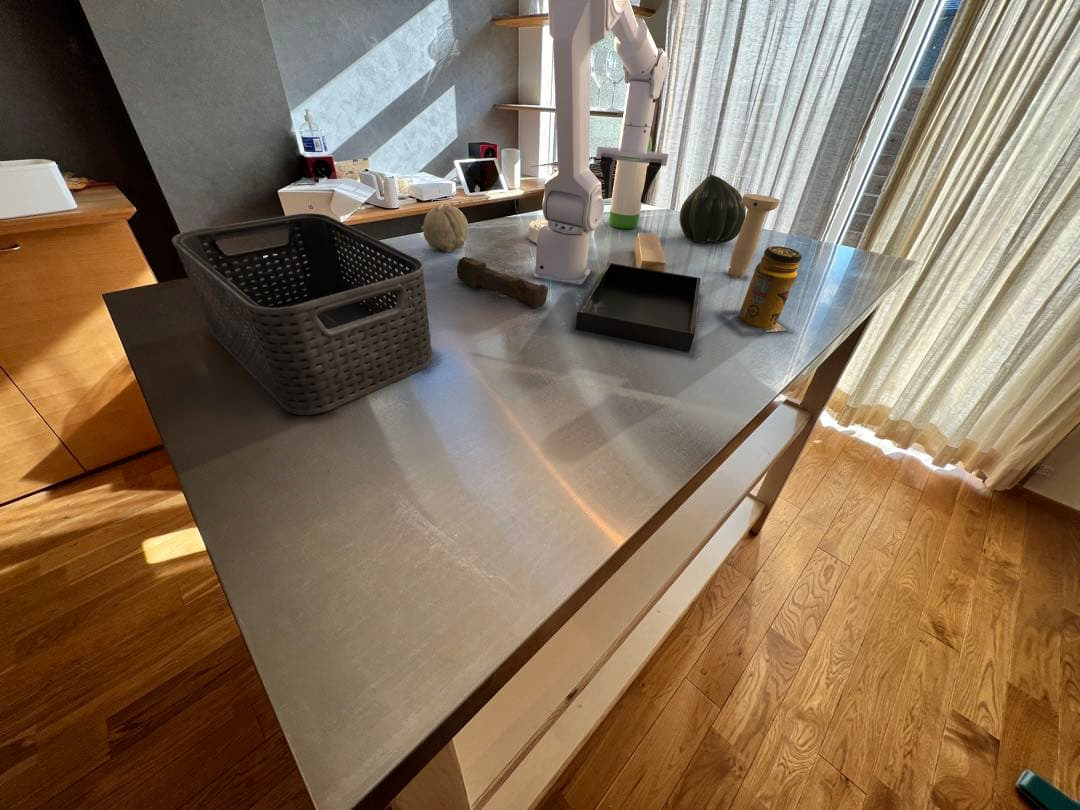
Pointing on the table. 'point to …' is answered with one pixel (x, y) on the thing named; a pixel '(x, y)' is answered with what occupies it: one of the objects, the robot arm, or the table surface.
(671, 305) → the black tray
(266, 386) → the storage bin
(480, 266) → the hand tool
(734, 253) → the handle
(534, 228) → the mooncake
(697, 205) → the squash
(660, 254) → the stick
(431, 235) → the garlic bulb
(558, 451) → the table surface
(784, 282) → the condiment
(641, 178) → the wine bottle
